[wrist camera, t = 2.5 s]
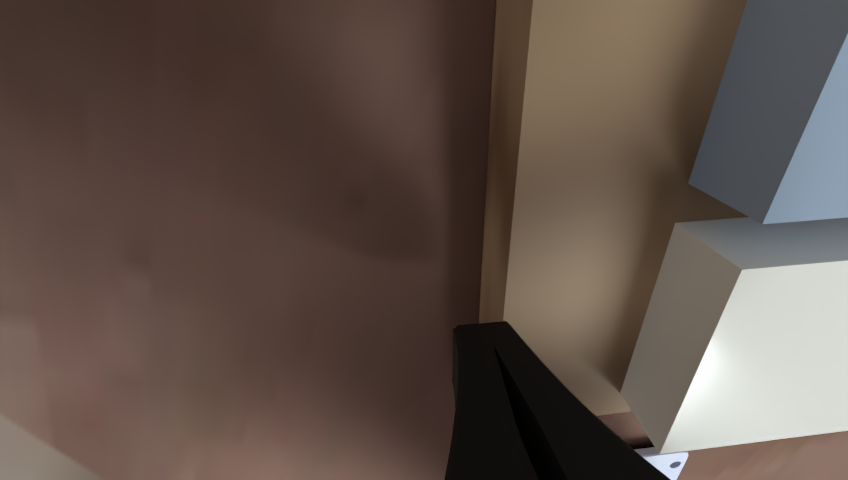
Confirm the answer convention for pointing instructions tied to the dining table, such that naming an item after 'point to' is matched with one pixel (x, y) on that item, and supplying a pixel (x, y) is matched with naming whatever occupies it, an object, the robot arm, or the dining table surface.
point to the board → (594, 171)
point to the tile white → (744, 335)
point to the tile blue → (781, 115)
